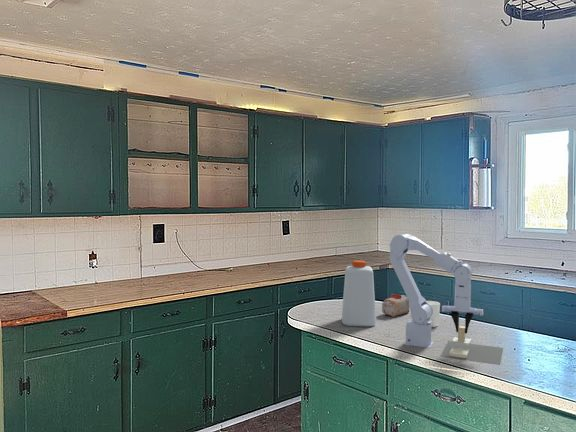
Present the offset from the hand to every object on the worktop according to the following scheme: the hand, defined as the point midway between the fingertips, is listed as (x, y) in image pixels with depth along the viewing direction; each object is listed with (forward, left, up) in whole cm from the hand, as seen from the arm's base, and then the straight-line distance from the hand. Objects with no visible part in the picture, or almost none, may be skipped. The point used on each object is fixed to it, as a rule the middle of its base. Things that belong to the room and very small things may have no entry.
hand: (461, 332), depth 190 cm
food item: (-35, +43, -8) cm, 56 cm away
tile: (0, -3, -6) cm, 6 cm away
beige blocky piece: (0, 0, -4) cm, 4 cm away
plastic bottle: (-47, +21, -7) cm, 52 cm away
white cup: (-17, +31, -7) cm, 36 cm away
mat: (+4, -1, -7) cm, 8 cm away
